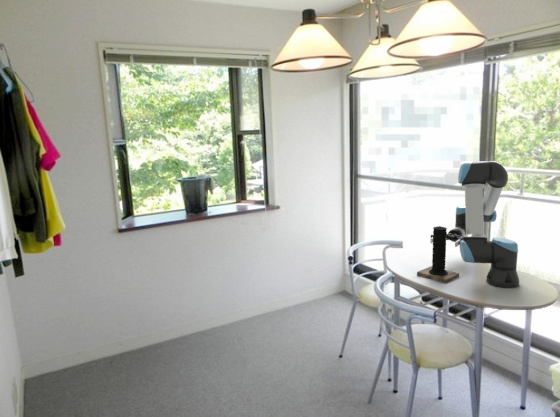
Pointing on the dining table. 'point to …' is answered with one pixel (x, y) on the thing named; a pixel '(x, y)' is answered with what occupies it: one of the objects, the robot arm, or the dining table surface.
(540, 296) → the dining table surface
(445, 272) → the handle grip
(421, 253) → the dining table surface
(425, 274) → the walnut plate
